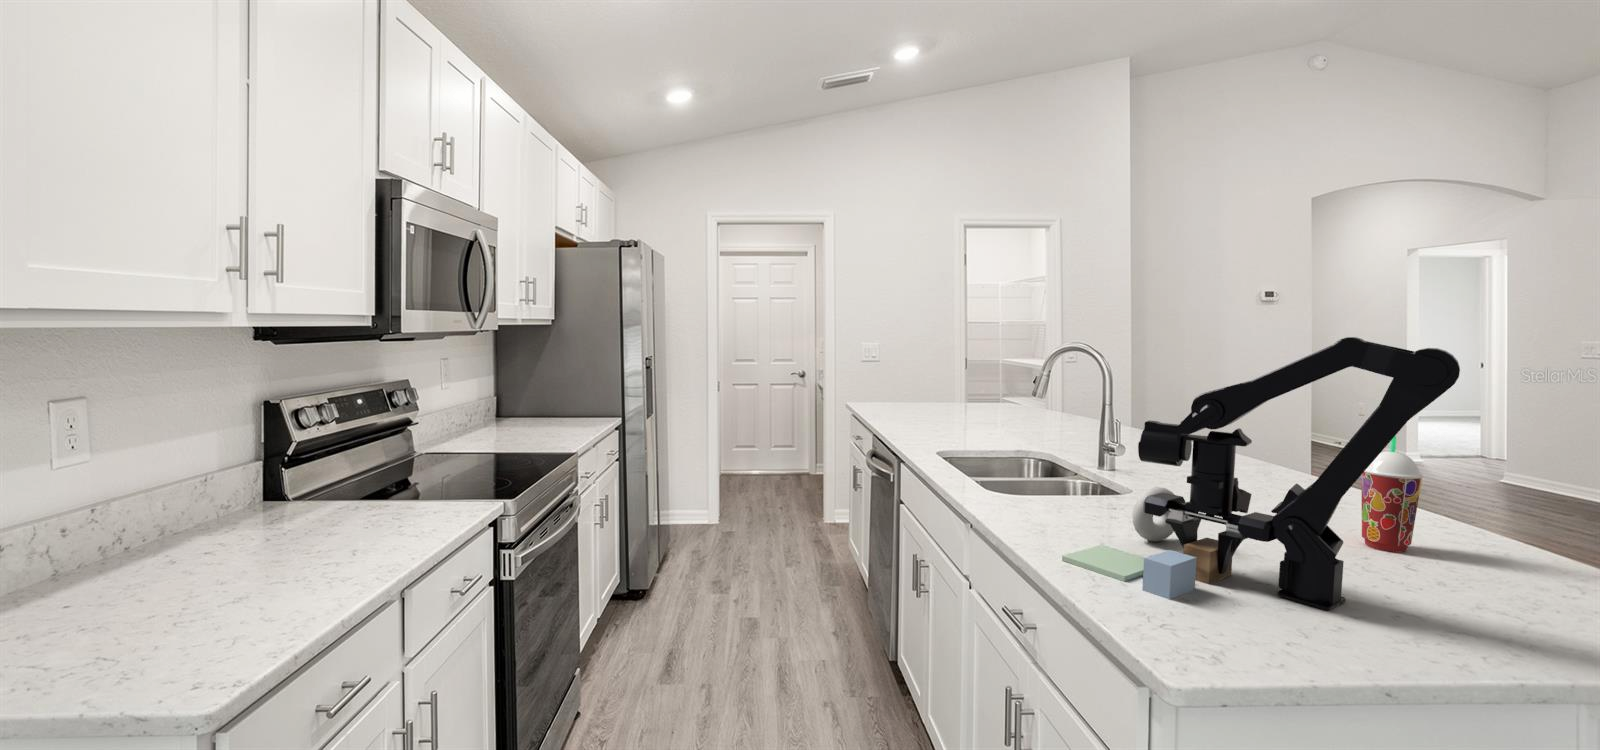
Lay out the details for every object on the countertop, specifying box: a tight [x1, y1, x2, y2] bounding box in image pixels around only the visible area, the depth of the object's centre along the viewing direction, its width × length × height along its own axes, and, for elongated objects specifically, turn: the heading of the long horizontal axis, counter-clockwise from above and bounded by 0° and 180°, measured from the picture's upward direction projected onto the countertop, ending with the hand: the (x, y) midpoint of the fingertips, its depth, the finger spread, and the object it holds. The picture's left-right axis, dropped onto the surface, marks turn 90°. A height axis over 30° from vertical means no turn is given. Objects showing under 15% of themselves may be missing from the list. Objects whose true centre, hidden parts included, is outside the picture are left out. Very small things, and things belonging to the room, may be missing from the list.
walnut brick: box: [1182, 537, 1233, 585], centre depth 110 cm, size 4×7×5 cm, turn 124°
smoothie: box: [1360, 435, 1424, 553], centre depth 125 cm, size 8×8×20 cm
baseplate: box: [1061, 544, 1146, 582], centre depth 115 cm, size 11×11×1 cm
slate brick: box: [1141, 549, 1197, 600], centre depth 104 cm, size 4×7×5 cm, turn 124°
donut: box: [1131, 486, 1175, 543], centre depth 127 cm, size 10×3×10 cm, turn 111°
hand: (1207, 569), depth 110 cm, fingers closed on walnut brick, 4 cm apart
